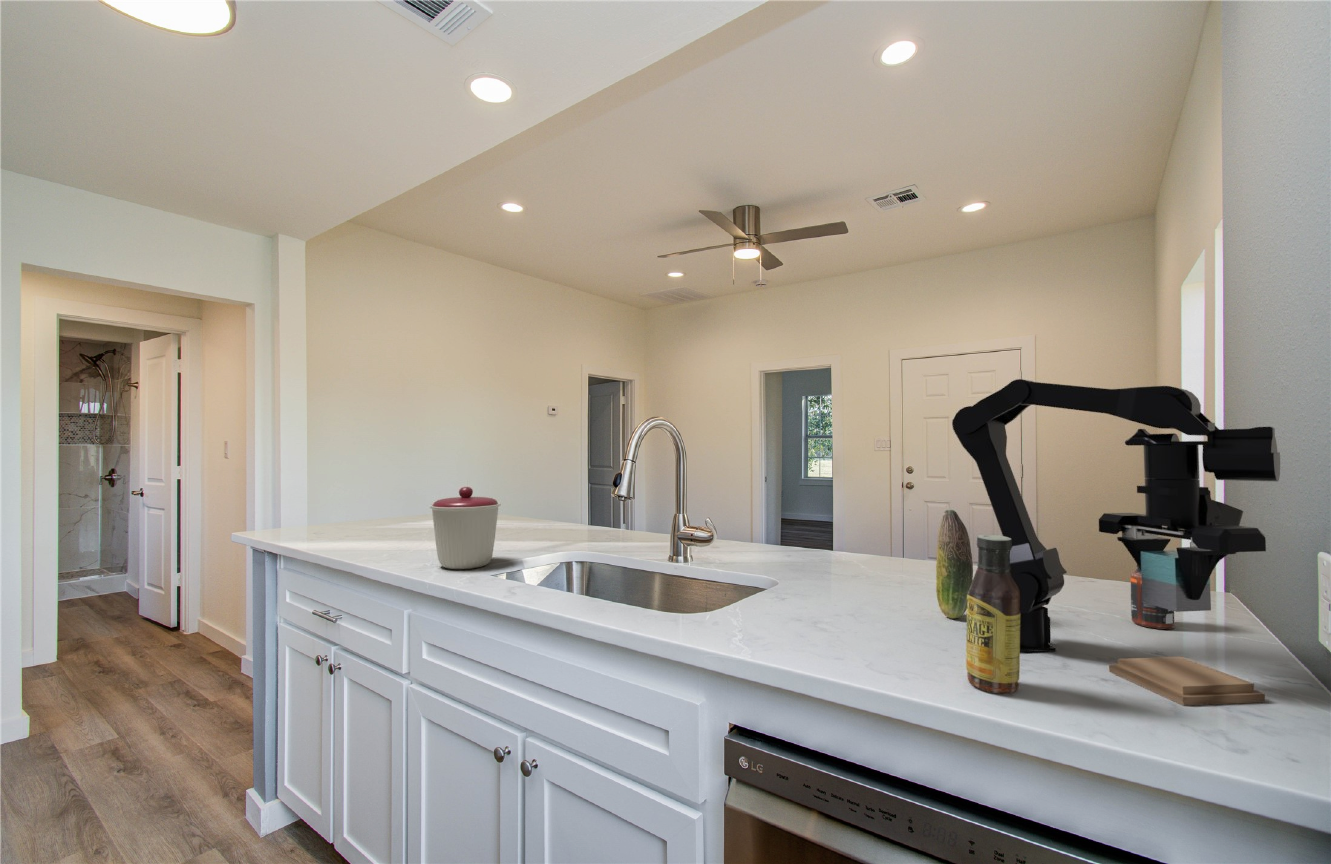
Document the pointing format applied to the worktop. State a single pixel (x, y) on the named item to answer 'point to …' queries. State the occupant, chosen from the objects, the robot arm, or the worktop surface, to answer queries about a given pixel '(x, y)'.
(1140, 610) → the supplement bottle
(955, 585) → the vegetable
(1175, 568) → the teal and grey block
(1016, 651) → the sauce bottle
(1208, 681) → the walnut stand
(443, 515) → the canister
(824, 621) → the worktop surface
